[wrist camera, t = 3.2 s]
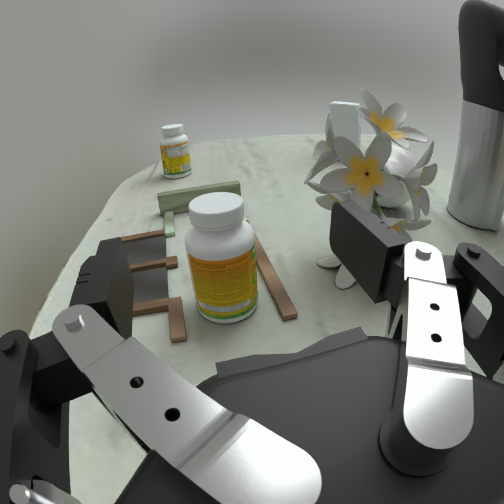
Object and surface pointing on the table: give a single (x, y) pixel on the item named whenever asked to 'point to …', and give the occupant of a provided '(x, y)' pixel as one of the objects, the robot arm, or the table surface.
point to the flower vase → (374, 172)
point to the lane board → (156, 263)
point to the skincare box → (346, 120)
